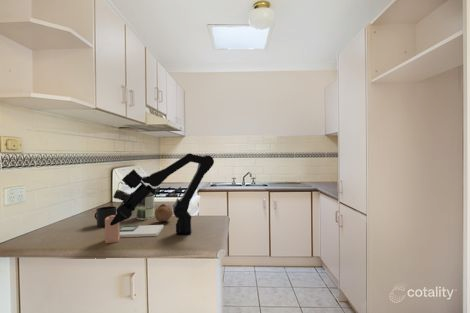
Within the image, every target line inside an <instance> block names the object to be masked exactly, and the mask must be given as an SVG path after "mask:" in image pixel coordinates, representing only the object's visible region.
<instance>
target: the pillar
mask: <svg viewBox="0 0 470 313" xmlns="http://www.w3.org/2000/svg"><path fill="white" fill-rule="evenodd" d="M114 217H115V215H111V216H109V217H107V218H106V219H105V227H104V236H105V237H104V240H105V243H106V244H110V243H117V242H119V241H120V239H121V237H120V227H121V225H120V223H121V222H119V223H117V224H115V225H112V226H111V225H110V223H111V222H112V220H113V219H114Z"/></svg>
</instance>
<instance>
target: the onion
mask: <svg viewBox="0 0 470 313" xmlns="http://www.w3.org/2000/svg"><path fill="white" fill-rule="evenodd" d="M154 216H155V217H154V218H155V220H156V221H157V222H161V223H162V222H163V223H165V222H168V221H169V220H170V219H171V218H172V216H173V208H171V207H170V206H168V205H166V204H164V203H163V204H160V205H159V206H158V207H157V208H156V209H154Z"/></svg>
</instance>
